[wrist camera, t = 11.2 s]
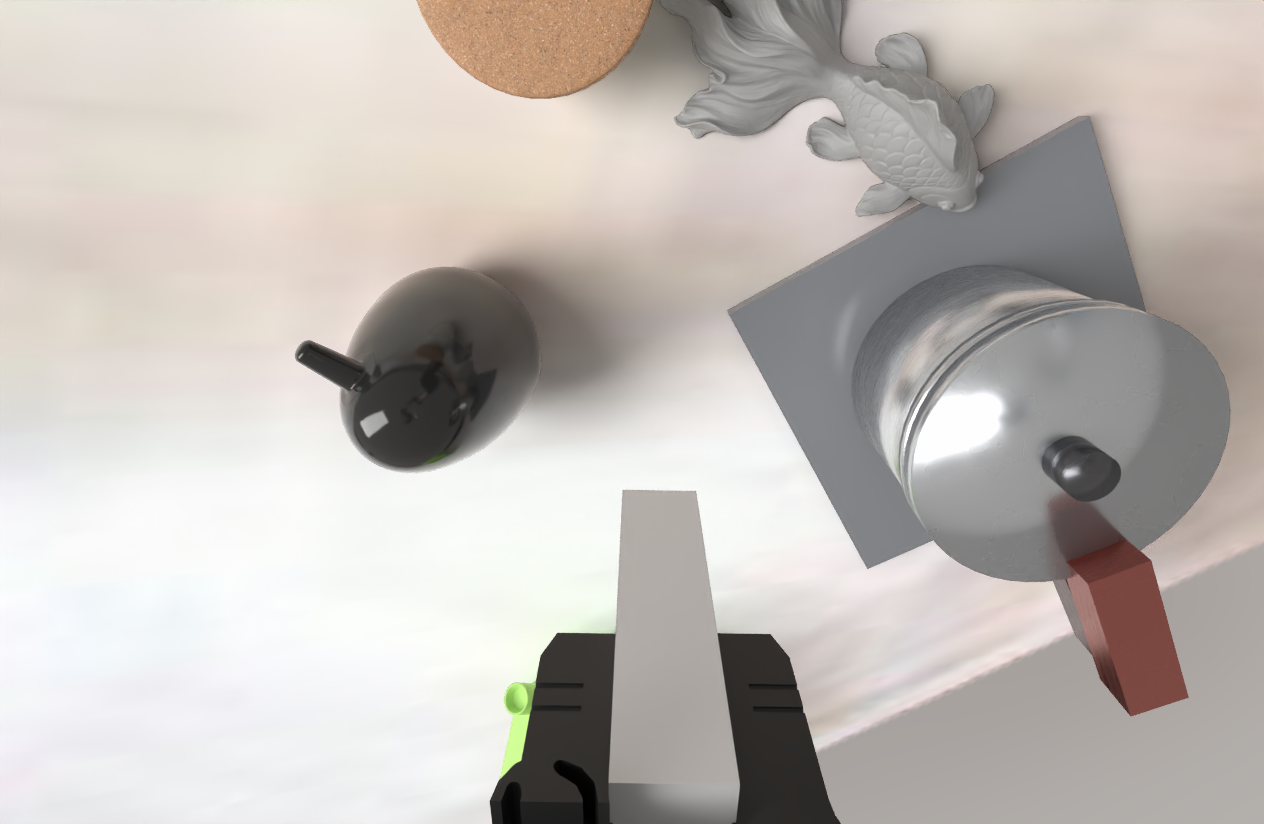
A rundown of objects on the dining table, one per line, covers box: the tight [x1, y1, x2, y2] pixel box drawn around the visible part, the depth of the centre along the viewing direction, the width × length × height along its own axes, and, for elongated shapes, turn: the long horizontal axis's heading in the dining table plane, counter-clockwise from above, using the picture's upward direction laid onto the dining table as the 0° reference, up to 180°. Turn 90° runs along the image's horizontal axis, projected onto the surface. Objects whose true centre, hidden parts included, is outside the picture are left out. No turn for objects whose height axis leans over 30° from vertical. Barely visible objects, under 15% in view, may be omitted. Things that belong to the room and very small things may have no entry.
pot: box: [851, 265, 1135, 654], centre depth 39 cm, size 23×15×10 cm, turn 30°
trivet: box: [727, 116, 1146, 569], centre depth 43 cm, size 22×22×1 cm
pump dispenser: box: [295, 267, 541, 473], centre depth 36 cm, size 10×10×15 cm
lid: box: [904, 303, 1230, 716], centre depth 33 cm, size 23×15×3 cm, turn 28°
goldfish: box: [660, 0, 994, 217], centre depth 36 cm, size 20×10×9 cm
